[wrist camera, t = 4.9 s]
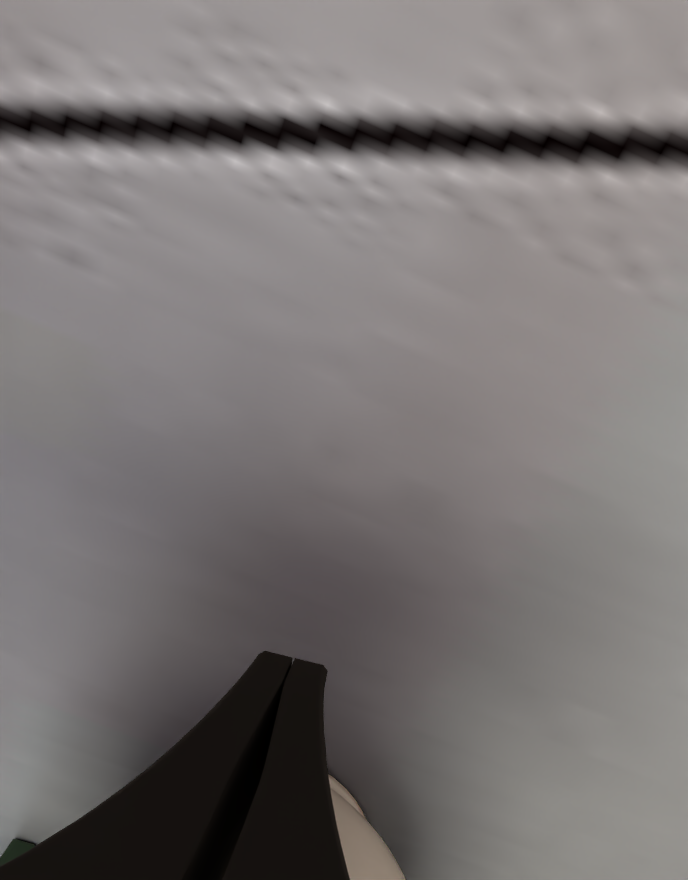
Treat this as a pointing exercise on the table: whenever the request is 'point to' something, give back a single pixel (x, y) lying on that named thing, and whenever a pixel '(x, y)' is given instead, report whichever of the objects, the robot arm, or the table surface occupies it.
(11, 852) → the cabinet
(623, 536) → the table surface
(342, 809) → the trinket box
